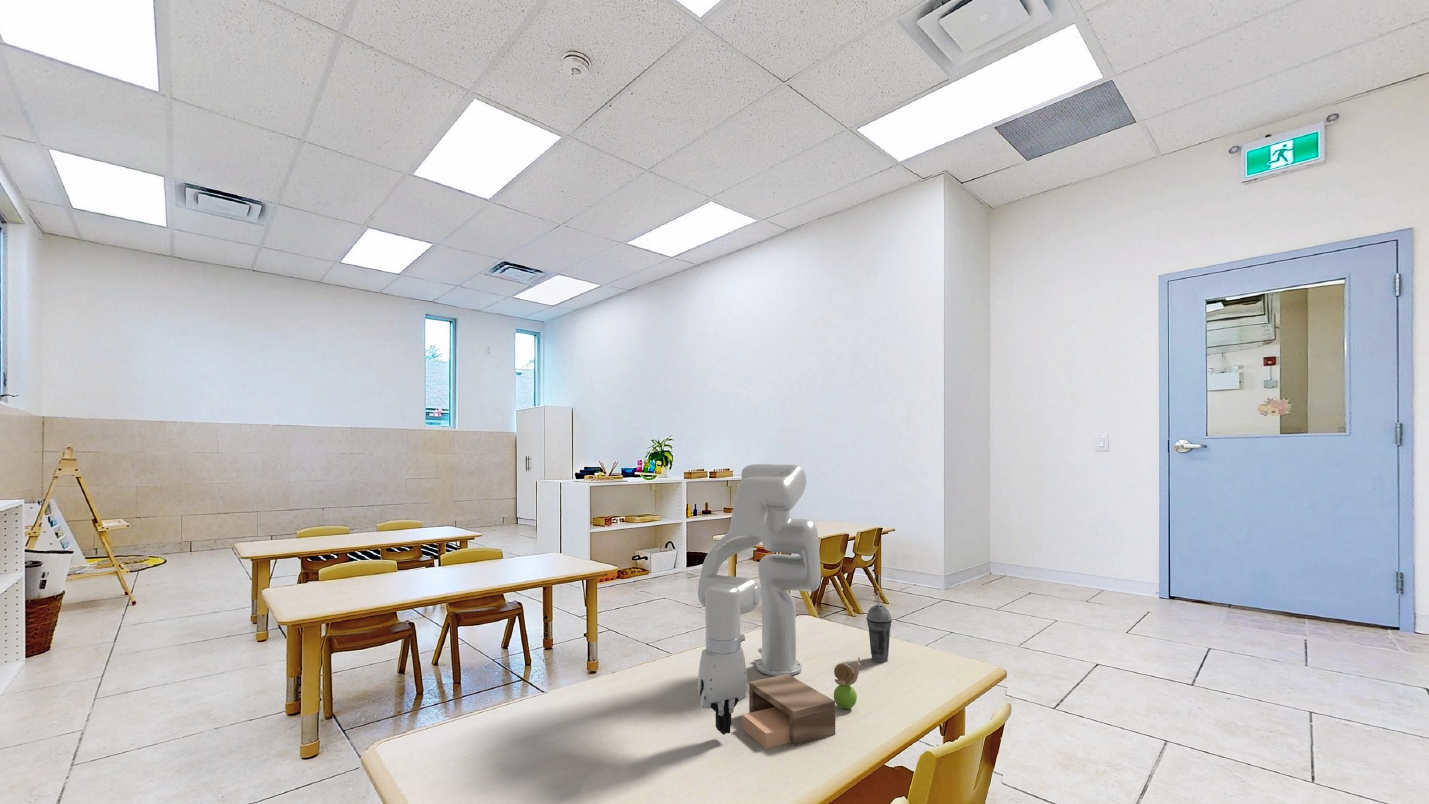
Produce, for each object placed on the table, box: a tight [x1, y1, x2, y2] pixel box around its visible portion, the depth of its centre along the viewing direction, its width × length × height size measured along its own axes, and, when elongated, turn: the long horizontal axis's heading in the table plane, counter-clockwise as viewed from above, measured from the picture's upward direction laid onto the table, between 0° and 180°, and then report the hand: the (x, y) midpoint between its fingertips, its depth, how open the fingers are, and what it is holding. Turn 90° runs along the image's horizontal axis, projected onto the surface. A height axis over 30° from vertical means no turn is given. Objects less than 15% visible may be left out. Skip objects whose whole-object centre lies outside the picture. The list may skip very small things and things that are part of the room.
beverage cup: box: [866, 590, 893, 664], centre depth 180 cm, size 7×7×20 cm
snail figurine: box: [833, 656, 861, 710], centre depth 147 cm, size 5×6×12 cm
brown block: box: [748, 674, 836, 747], centre depth 139 cm, size 18×11×7 cm, turn 28°
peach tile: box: [741, 707, 790, 749], centre depth 135 cm, size 10×14×4 cm
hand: (723, 731), depth 131 cm, fingers closed
